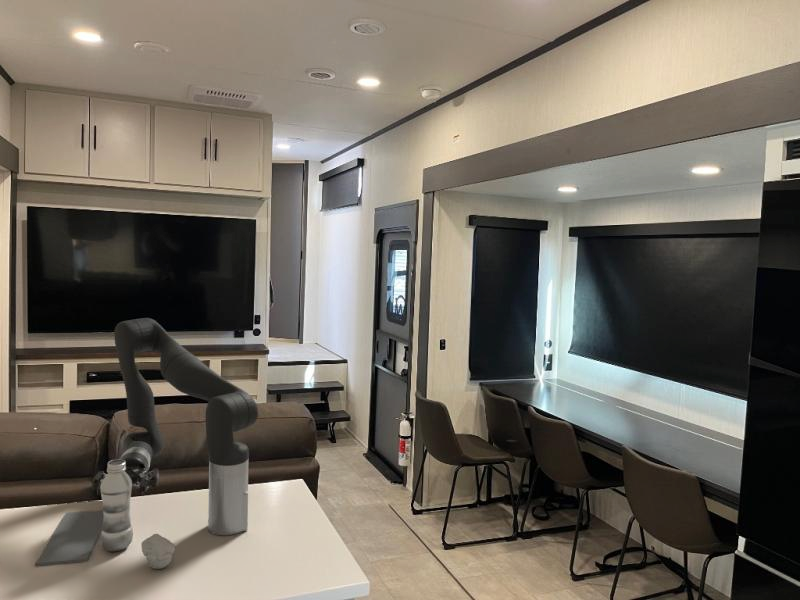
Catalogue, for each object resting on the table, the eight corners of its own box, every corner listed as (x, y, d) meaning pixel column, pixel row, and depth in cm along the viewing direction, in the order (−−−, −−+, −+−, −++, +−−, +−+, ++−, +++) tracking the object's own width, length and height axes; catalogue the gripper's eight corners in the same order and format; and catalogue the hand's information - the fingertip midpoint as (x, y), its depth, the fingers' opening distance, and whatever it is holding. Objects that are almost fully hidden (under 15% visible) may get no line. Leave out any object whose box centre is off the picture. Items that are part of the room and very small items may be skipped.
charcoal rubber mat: (110, 512, 153) (110, 509, 153) (87, 561, 130) (87, 558, 130) (66, 514, 150) (66, 512, 150) (35, 566, 127) (35, 563, 127)
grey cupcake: (149, 558, 132) (149, 528, 132) (180, 560, 132) (180, 530, 131) (135, 574, 126) (135, 542, 126) (168, 576, 126) (168, 544, 125)
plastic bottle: (139, 544, 138) (139, 460, 136) (114, 558, 132) (114, 470, 130) (119, 537, 141) (119, 454, 139) (93, 550, 134) (93, 464, 132)
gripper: (103, 452, 153) (87, 477, 138) (162, 450, 157) (154, 474, 141) (103, 481, 154) (87, 509, 138) (162, 478, 158) (153, 505, 142)
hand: (121, 491), depth 140 cm, fingers open, 8 cm apart
